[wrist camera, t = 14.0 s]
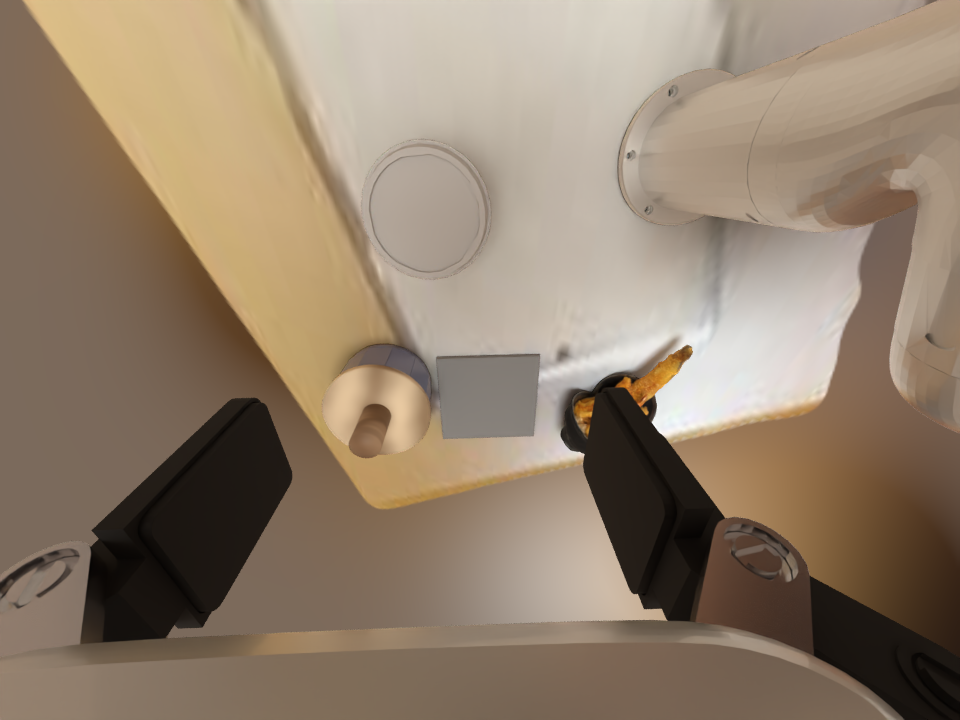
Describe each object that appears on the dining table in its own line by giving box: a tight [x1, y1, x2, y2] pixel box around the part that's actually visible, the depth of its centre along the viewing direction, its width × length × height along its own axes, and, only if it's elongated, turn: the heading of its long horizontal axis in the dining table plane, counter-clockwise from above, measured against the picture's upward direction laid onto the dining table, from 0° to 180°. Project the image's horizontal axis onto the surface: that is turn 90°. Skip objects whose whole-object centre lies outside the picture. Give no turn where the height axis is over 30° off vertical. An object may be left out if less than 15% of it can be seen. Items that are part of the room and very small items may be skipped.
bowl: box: [340, 344, 431, 402], centre depth 42 cm, size 11×11×6 cm
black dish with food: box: [561, 345, 693, 454], centre depth 42 cm, size 9×11×18 cm
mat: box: [436, 354, 540, 439], centre depth 46 cm, size 13×13×1 cm
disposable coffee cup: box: [361, 139, 491, 280], centre depth 29 cm, size 10×10×12 cm
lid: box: [322, 365, 431, 458], centre depth 37 cm, size 12×12×6 cm
